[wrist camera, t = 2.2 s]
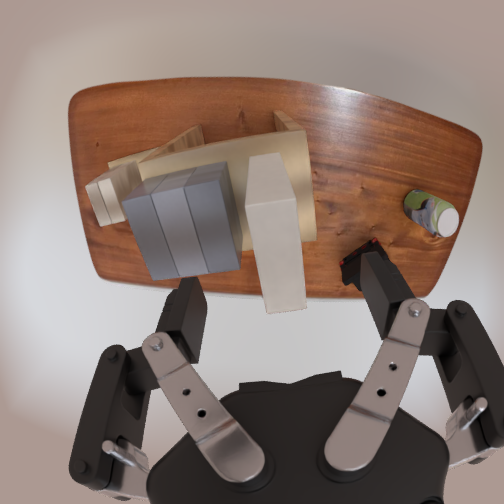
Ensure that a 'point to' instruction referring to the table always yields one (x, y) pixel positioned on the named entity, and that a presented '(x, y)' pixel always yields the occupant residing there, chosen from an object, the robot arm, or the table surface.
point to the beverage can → (431, 213)
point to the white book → (275, 233)
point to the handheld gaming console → (359, 262)
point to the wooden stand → (210, 199)
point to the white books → (115, 187)
